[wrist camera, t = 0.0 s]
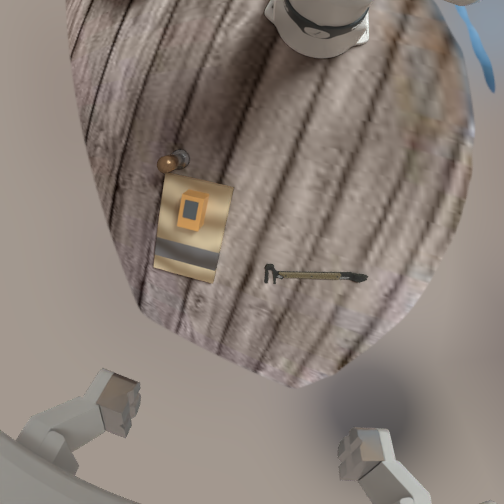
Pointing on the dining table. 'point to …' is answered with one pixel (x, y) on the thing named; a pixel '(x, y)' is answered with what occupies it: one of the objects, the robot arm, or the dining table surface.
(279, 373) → the dining table surface
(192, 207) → the orange box
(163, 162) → the brown goblet
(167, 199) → the panel
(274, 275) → the tactical tomahawk
